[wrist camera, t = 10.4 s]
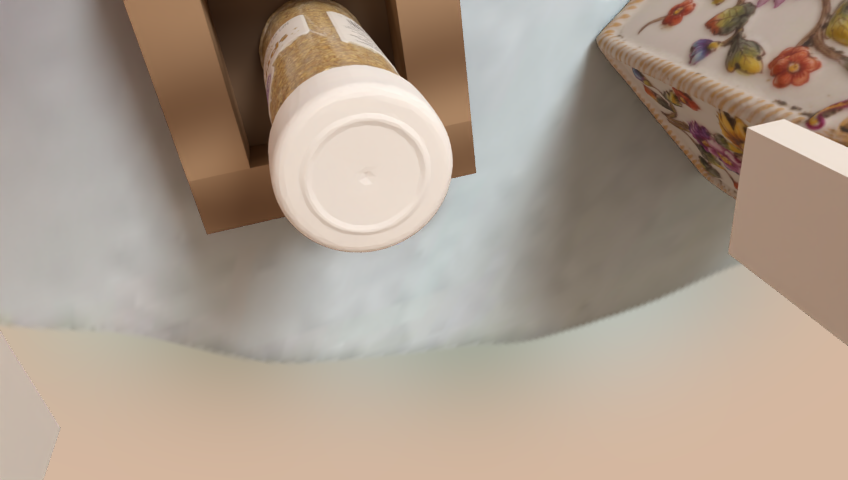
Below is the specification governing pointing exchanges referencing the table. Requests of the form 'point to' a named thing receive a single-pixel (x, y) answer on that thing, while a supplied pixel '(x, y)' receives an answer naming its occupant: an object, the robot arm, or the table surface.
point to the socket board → (246, 94)
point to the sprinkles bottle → (347, 132)
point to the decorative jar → (733, 71)
